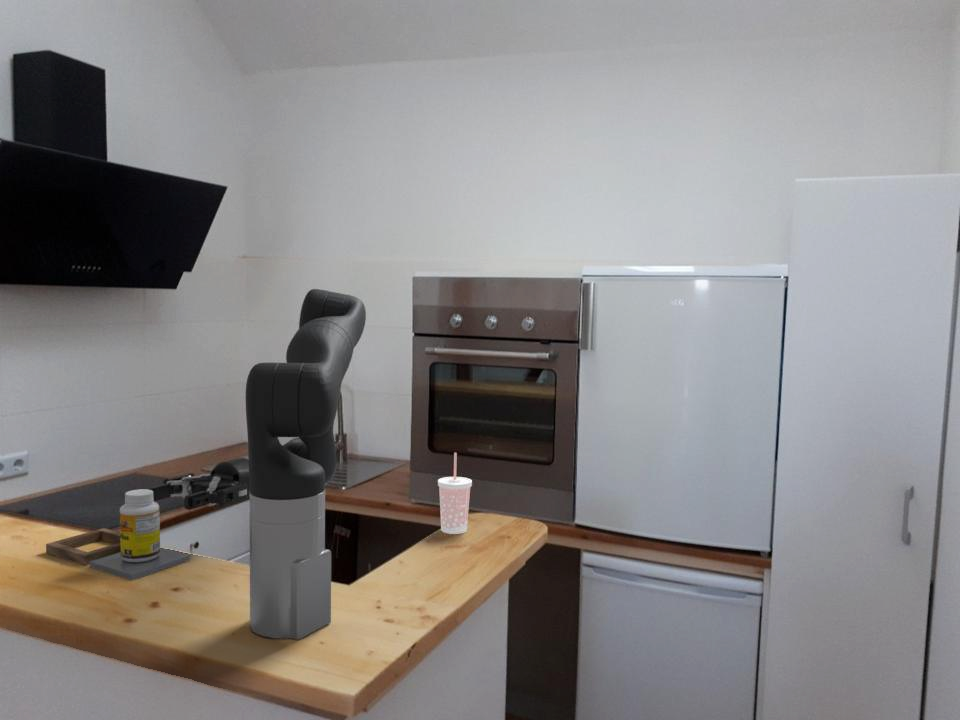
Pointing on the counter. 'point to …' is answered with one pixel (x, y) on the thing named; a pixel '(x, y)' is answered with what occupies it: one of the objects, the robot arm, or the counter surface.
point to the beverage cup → (454, 502)
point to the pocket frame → (67, 546)
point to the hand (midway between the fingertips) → (167, 499)
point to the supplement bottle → (139, 527)
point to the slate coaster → (138, 564)
